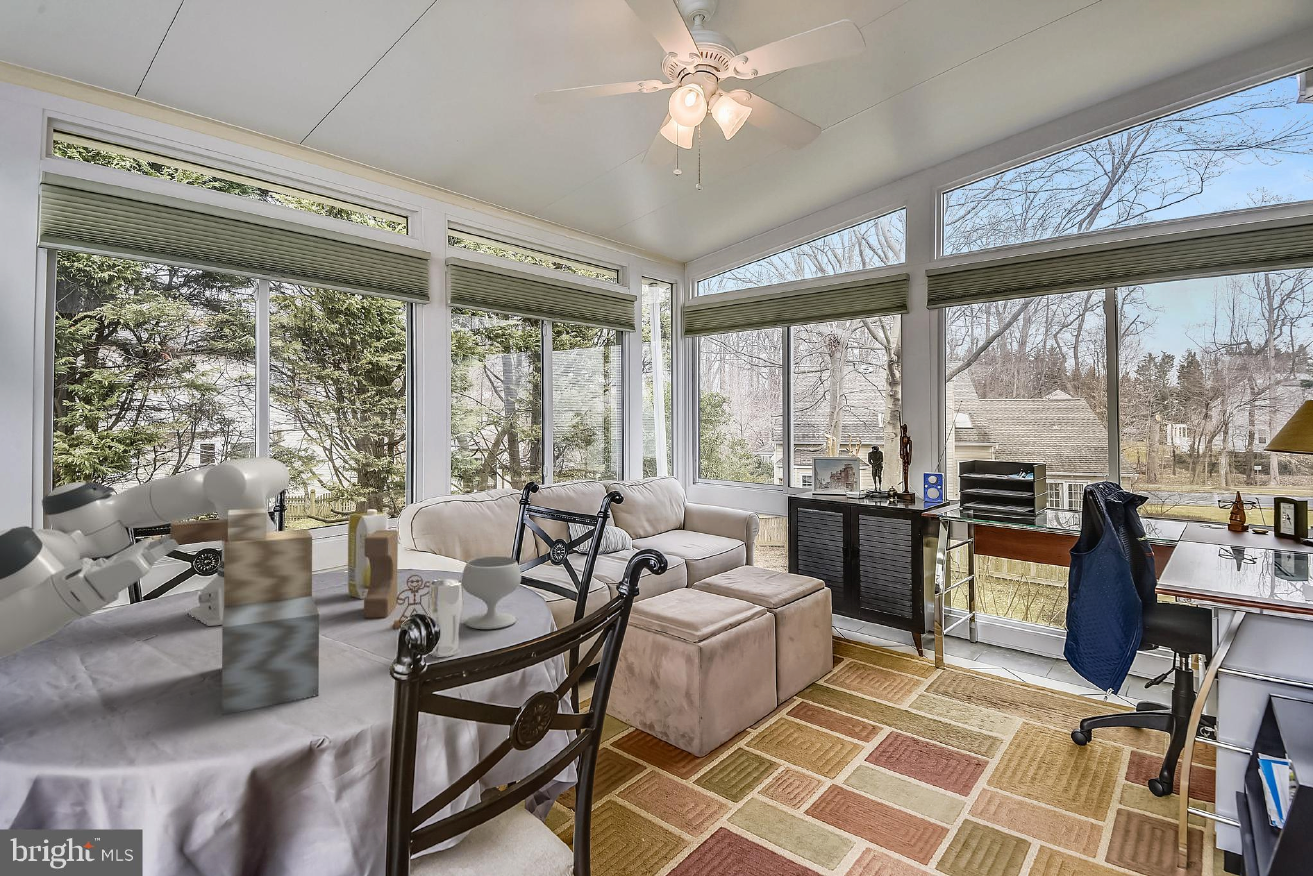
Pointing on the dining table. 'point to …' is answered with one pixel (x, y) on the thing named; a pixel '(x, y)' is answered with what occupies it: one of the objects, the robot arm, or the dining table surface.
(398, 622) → the gingerbread man figurine
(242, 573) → the step stand
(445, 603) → the beer glass
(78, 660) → the dining table surface
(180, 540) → the brown rectangular block
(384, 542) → the decorative block
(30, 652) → the dining table surface
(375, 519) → the juice carton
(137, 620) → the dining table surface
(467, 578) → the chalice
